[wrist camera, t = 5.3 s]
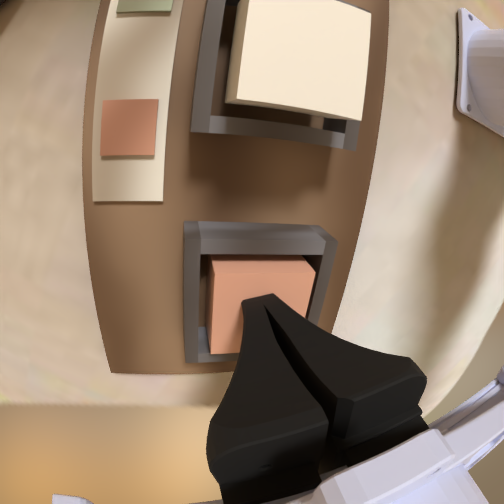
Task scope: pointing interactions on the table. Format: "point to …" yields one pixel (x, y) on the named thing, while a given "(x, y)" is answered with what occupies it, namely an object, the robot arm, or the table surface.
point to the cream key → (300, 57)
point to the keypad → (207, 179)
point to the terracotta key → (250, 291)
